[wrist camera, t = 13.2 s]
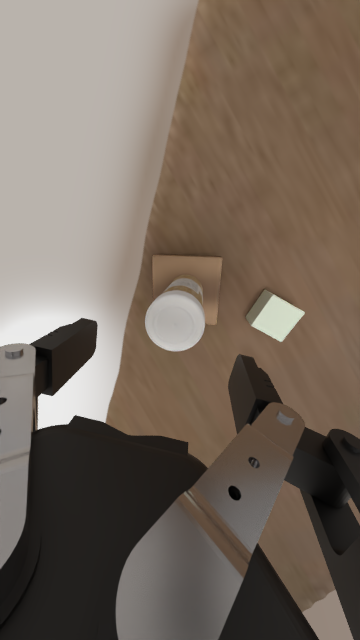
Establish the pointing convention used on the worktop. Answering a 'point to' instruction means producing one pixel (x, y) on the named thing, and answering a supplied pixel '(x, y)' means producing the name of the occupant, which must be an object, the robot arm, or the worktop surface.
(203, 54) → the worktop surface
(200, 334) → the sprinkles bottle
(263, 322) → the sage block
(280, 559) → the worktop surface
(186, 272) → the walnut block
